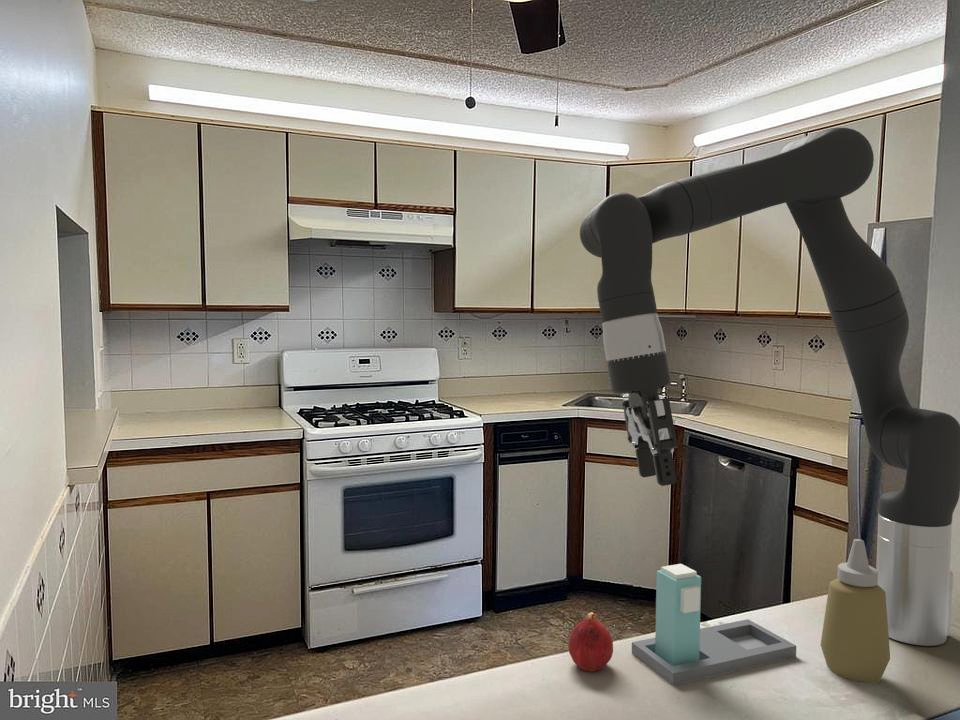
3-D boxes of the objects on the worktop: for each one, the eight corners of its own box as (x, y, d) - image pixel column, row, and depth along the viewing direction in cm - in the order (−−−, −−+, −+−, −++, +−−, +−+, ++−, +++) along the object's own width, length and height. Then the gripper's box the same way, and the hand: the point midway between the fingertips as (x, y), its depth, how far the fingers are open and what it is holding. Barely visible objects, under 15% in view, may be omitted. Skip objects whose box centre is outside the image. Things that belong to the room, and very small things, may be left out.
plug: (679, 653, 97) (681, 562, 96) (703, 669, 93) (705, 574, 92) (655, 658, 96) (656, 566, 95) (677, 675, 91) (679, 578, 90)
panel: (747, 635, 105) (748, 619, 105) (795, 663, 96) (796, 645, 96) (631, 660, 97) (631, 642, 97) (672, 692, 89) (673, 673, 89)
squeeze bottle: (904, 691, 89) (910, 550, 88) (841, 694, 89) (846, 551, 88) (864, 660, 97) (869, 530, 96) (807, 662, 97) (811, 531, 96)
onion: (612, 686, 90) (613, 625, 90) (566, 682, 91) (567, 621, 91) (613, 664, 96) (614, 606, 95) (569, 660, 97) (570, 602, 97)
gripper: (682, 345, 84) (706, 482, 84) (649, 351, 98) (670, 469, 98) (619, 355, 84) (643, 493, 83) (595, 360, 98) (616, 478, 97)
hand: (657, 480), depth 90 cm, fingers open, 8 cm apart
